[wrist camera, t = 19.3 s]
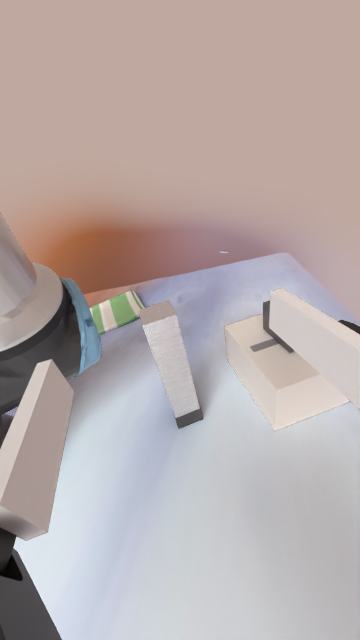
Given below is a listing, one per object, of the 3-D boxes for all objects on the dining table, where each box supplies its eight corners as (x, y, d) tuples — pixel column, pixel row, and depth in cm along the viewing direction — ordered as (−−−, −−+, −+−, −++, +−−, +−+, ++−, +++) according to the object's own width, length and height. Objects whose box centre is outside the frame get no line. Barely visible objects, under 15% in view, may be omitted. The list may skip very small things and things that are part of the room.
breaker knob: (289, 353, 28) (292, 324, 26) (263, 328, 33) (262, 302, 31) (310, 345, 28) (315, 316, 26) (281, 322, 33) (282, 296, 31)
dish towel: (65, 321, 70) (61, 313, 69) (135, 295, 76) (132, 288, 74) (63, 351, 55) (58, 343, 54) (150, 317, 61) (147, 308, 60)
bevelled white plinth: (274, 431, 29) (276, 389, 24) (228, 361, 40) (223, 325, 36) (348, 402, 30) (362, 357, 25) (282, 343, 41) (284, 306, 37)
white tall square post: (178, 428, 31) (141, 326, 22) (172, 407, 35) (137, 310, 25) (203, 419, 32) (176, 314, 22) (194, 399, 35) (168, 300, 26)
